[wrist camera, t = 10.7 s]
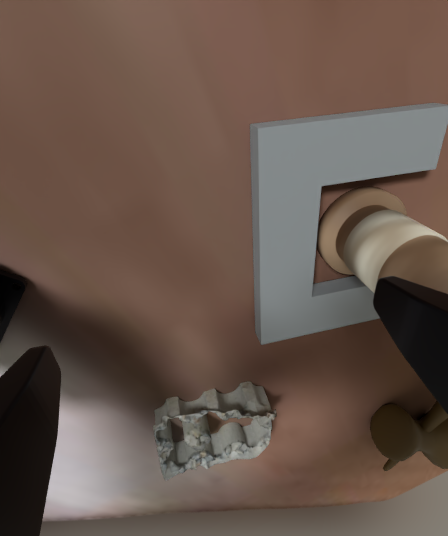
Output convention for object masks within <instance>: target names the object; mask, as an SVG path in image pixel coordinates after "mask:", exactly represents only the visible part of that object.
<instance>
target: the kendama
mask: <svg viewBox="0 0 448 536" xmlns="http://www.w3.org/2000/svg"><path fill="white" fill-rule="evenodd" d="M370 430H371V436H372V439H373V441H374V443H375V445H376V447H377V448H378V449H379V451H380V452H381V453H382V454H383V455H384V456H385V457H387V458H389V460H388V461H387V462H386V463H385V465H384V467H383V469H384V471H388V470H390V469H391V468H392V467H393V466H395V465H396V464H397V463H398V462H399V461H404V460H406V459H407V458H409V457H411V456H412V455H413V454H415V453H416V452H417V451H422V453H423V454H424V455H425V456H426V457H427V458H428V459H429V460H430V461H431V462H432V463H433V464H435V465H436V466H438V467H440V468H442V469H448V415H447V413H446V412H445V411H444V409H443V408H442V407H441V405H440V404H439V403H438V401H436V403H435V404H434V406H433V407H432V408H431V410H430V411H429V413H428V414H426V415H425V416H423V417H422V418H421V419H420V420H419V421H417V420H413V419H412V417H411V416H410V415H409V414H408V413H407V412H406V411H405V410H404V409H403V408H402V407H400V406H397V405H395V404H388V405H383V406H382V407H381V408H380V409H379V410H378V411H377V412H376V413H375V414H374V416H373V417H372V420H371V425H370Z"/></svg>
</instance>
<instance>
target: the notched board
mask: <svg viewBox="0 0 448 536" xmlns="http://www.w3.org/2000/svg"><path fill="white" fill-rule="evenodd" d="M447 124H448V105H446V104H438V103H428V104H420V105H411V106H402V107H394V108H385V109H376V110H368V111H359V112H350V113H342V114H333V115H324V116H316V117H307V118H298V119H290V120H281V121H272V122H264V123H255V124H250V147H251V185H252V223H253V262H254V300H255V333H256V335H257V337H258V339H259V341H260V343H261V345H263V344H267V343H272V342H276V341H281V340H285V339H290V338H294V337H299V336H303V335H307V334H312V333H316V332H321V331H325V330H330V329H334V328H339V327H343V326H348V325H352V324H357V323H361V322H366V321H370V320H374V319H379V318H380V317H379V316H378V314H377V312H376V311H375V309H374V306H373V298H374V293H373V292H372V291H371V290H370V289H369V288H368V287H367V286H366V285H365V284H364V283H363V282H362V281H361V280H360V279H359V278H358V277H357V276H351V277H346V278H341V279H336V280H331V281H326V282H321V283H316V284H313V277H314V266H315V254H316V243H317V231H318V220H319V209H320V197H321V186H326V185H332V184H339V183H346V182H352V181H359V180H366V179H372V178H379V177H385V176H392V175H399V174H405V173H412V172H419V171H425V170H432V169H436V165H437V162H438V158H439V154H440V150H441V147H442V143H443V139H444V135H445V131H446V128H447Z"/></svg>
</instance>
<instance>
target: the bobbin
mask: <svg viewBox="0 0 448 536" xmlns="http://www.w3.org/2000/svg"><path fill="white" fill-rule="evenodd" d="M316 246H317V250H318V252H319V254H320V256H321V257H322V258H323V259H324V260H325V261H326V262H327V263H328V264H329V265H330V266H331V267H332V268H333V269H334V270H336V271H337V272H340V273H343V274H348V275H355V276H357V277H358V278H359V279H360V280H361V281H362V282H363V283H364V284H365V285H366V286H367V287H368V288H369V289H370V290H371V291H372V292H373V293H375V288H376V283H377V281H378V279H380V278H382V277H387V276H396V277H399V278H402V279H405V280H408V281H411V282H414V283H417V284H420V285H423V286H426V287H429V288H432V289H435V290H438V291H441V292H444V293H447V294H448V240H447V239H446V238H445V237H444V236H442V235H440V234H439V233H437V232H435V231H433V230H431V229H430V228H428V227H426V226H424V225H422V224H420V223H419V222H417V221H415V220H413V219H411V218H410V217H408V216H407V213H406V209H405V207H404V205H403V203H402V202H401V200H400V199H399V198H397V197H396V196H395V195H393V194H391V193H389V192H387V191H385V190H383V189H380V188H378V187H373V186H364V187H359V188H355V189H353V190H350V191H348V192H346V193H345V194H343V195H341V196H340V197H339V198H337V199H336V200H335V201H334V202H333V203H332V204H331V205H330V206H329V207H328V209H327V210H326V211H325V213H324V214H323V216H322V218H321V220H320V222H319V224H318V231H317V243H316Z"/></svg>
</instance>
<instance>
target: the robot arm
mask: <svg viewBox="0 0 448 536" xmlns="http://www.w3.org/2000/svg"><path fill="white" fill-rule="evenodd" d="M13 283H18V284H20V286H19V287H18V286H15V285H14V284H13ZM26 286H27V282H26V280H25V279H24V278H22V277H20V276H17V275H14V274H11V273H8V272H5V271H2V270H0V342H1V340H2V338H3V335H4V333H5V331H6V329H7V327H8V325H9V323H10V321H11V318H12V316H13V314H14V312H15V310H16V308H17V306H18V303H19V301H20V299H21V297H22V295H23V293H24V291H25V288H26ZM373 306H374V309H375V311H376V312H377V314H378V316H379V317H380V319H381V321H382V322H383V324H384V326H385V327H386V329H387V331H388V332H389V334H390V336H391V337H392V339H393V340H394V342H395V344H396V345H397V347H398V349H399V350H400V352H401V353H402V354H403V356H404V357H405V359H406V360H407V361H408V363H409V364H410V365H411V367H412V368H413V369H414V371H415V372H416V373H417V375H418V376H419V377H420V379H421V380H422V381H423V383H424V384H425V385H426V387H427V388H428V389H429V391H430V392H431V393H432V395H433V396H434V397H435V399H436V400H437V401H438V403H439V404H440V405H441V407H442V408H443V409H444V411H445V412H446V413H447V415H448V294H447V293H444V292H441V291H438V290H435V289H432V288H429V287H426V286H423V285H420V284H417V283H414V282H411V281H408V280H405V279H402V278H399V277H396V276H387V277H382V278H380V279H378V281H377V283H376V288H375V293H374V298H373ZM60 386H61V371H60V368H59V365H58V363H57V361H56V359H55V357H54V355H53V353H52V351H51V349H50V347H49V346H46V345H44V346H39V347H34V348H31V349H29V350H28V351H26V352H25V353H24V354H23V355H22V356H21V357H20V358H19V359H18V360H17V361H16V362H15V363H14V364H13V365H12V366H11V367H10V368H9V369H8V370H7V371H6V372H5V373H4V374H3V375H2V376H1V377H0V536H39V535H40V530H41V524H42V519H43V513H44V508H45V502H46V497H47V491H48V485H49V480H50V474H51V469H52V463H53V458H54V452H55V447H56V440H57V433H58V420H59V403H60Z"/></svg>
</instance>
